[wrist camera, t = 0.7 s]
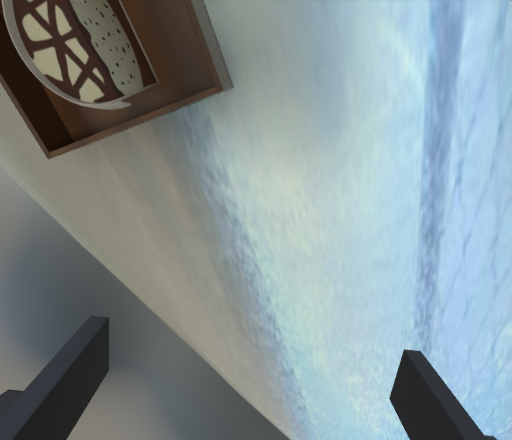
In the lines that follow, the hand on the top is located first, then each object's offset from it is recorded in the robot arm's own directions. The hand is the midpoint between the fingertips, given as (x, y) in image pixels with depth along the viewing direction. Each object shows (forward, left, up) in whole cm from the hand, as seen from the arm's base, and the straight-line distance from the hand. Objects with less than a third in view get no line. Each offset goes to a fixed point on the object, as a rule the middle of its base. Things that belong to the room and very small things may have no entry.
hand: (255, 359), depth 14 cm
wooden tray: (+13, -19, -25) cm, 34 cm away
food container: (+13, -19, -25) cm, 34 cm away
